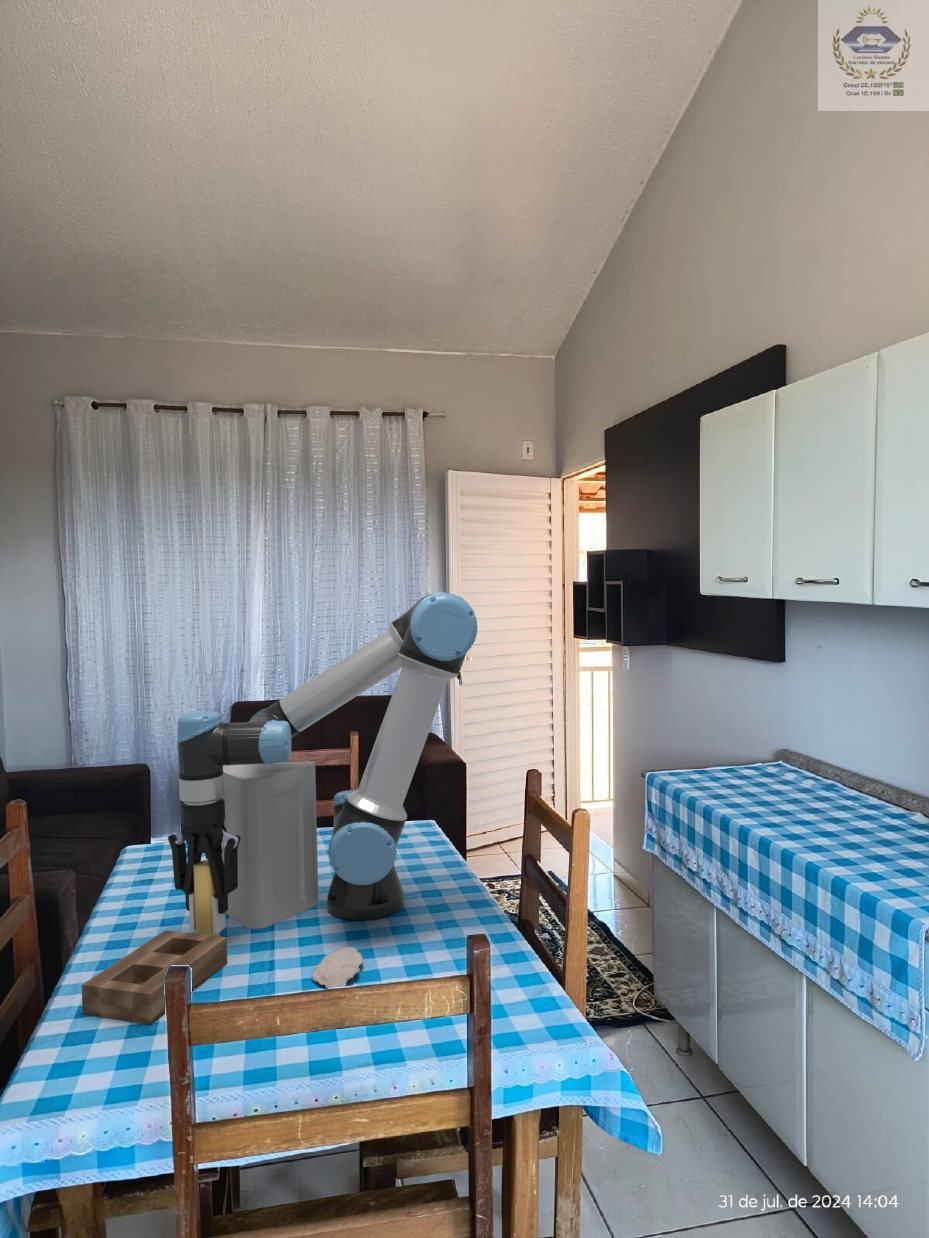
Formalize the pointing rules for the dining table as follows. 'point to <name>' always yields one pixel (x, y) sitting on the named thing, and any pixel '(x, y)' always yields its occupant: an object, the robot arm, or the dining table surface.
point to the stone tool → (338, 967)
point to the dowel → (203, 898)
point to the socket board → (151, 976)
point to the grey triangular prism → (272, 840)
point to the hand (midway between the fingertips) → (207, 928)
